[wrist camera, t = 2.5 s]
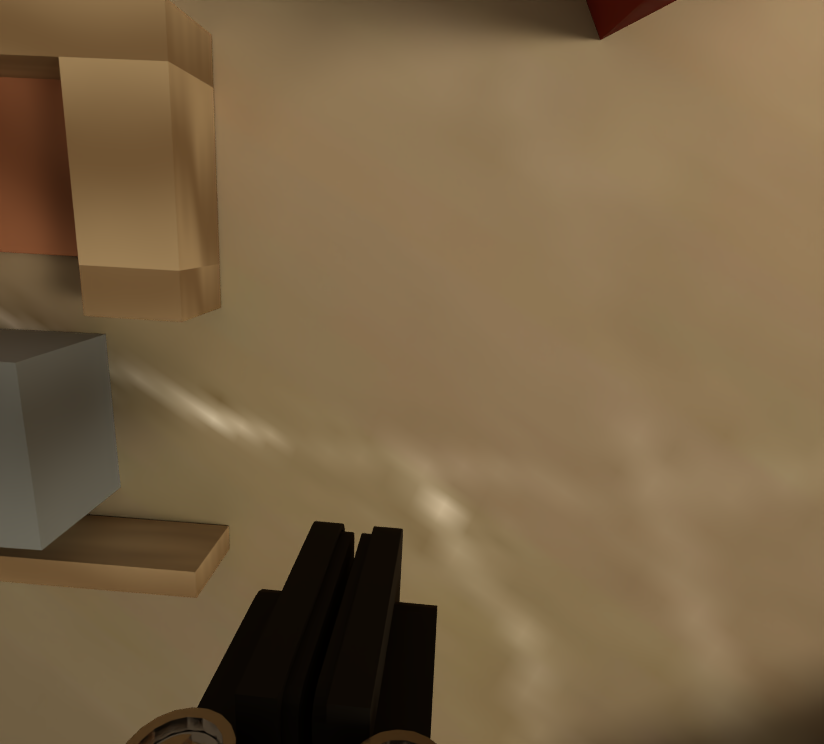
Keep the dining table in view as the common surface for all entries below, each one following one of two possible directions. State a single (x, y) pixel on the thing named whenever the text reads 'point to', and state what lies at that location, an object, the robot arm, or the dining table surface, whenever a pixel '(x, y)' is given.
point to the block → (53, 433)
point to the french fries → (621, 13)
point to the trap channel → (114, 223)
